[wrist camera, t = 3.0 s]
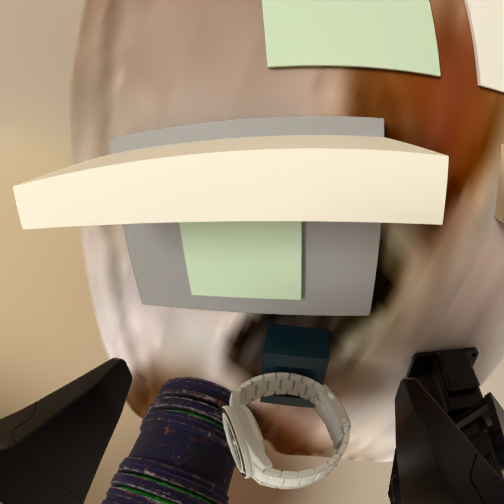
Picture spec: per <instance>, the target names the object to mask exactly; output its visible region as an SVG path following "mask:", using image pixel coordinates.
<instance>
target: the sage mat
mask: <svg viewBox="0 0 504 504" xmlns="http://www.w3.org/2000/svg"><path fill="white" fill-rule="evenodd" d="M262 7H263V18H264V29H265V40H266V52H267V65H268V68H274V67H296V66H340V67H361V68H375V69H386V70H396V71H404V72H411V73H418V74H425V75H431V76H436V77H439V76H440V66H439V57H438V49H437V41H436V35H435V29H434V23H433V17H432V12H431V7H430V3H429V0H262Z"/></svg>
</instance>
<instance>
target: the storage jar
mask: <svg viewBox="0 0 504 504" xmlns="http://www.w3.org/2000/svg"><path fill="white" fill-rule="evenodd" d="M231 393H232V392H231V391H229V390H228V389H226V388H224V387H222V386H220V385H218V384H215V383H213V382H210V381H206V380H203V379H198V378H191V377H179V378H174V379H170V380H169V381H167V382H166V383H164V384H163V386H162V388H161V390H160V392H159V395H158V396H157V397H156V399H155V401H154V402H153V403H152V404H151V406H150V408H149V410H148V412H147V415H146V417H145V418H144V419H143V421H142V425H141V427H140V430H141V433H140V435H139V437H138V439H137V441H136V443H135V445H134V447H133V449H132V451H131V453H130V454H129V456H128V457H127V458H125V459H124V460H123V462H122V463H120V465H119V469H118V471H117V473H116V474H115V475H114V477H113V479H112V481H111V483H110V485H111V487H110V488H109V490H108V492H107V498H106V499H105V500H103V501H102V503H101V504H228V500H229V498H228V496H227V492H228V488H229V485H230V481H231V478H232V474H233V470H234V467H235V466H236V463H235V460H234V458H233V455H232V453H231V450H230V447H229V444H228V441H227V437H226V433H225V429H224V424H223V418H222V407H223V406H226V405H227V406H229V402H230V396H231Z"/></svg>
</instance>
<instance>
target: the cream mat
mask: <svg viewBox="0 0 504 504" xmlns="http://www.w3.org/2000/svg"><path fill="white" fill-rule="evenodd" d="M464 1H465V5H466V9H467V14H468V18H469V23H470V28H471V34H472V40H473V46H474V53H475V61H476V70H477V81H478V86H482V87H485V88H489V89H492V90H496V91H499V92H503V93H504V0H464Z"/></svg>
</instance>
